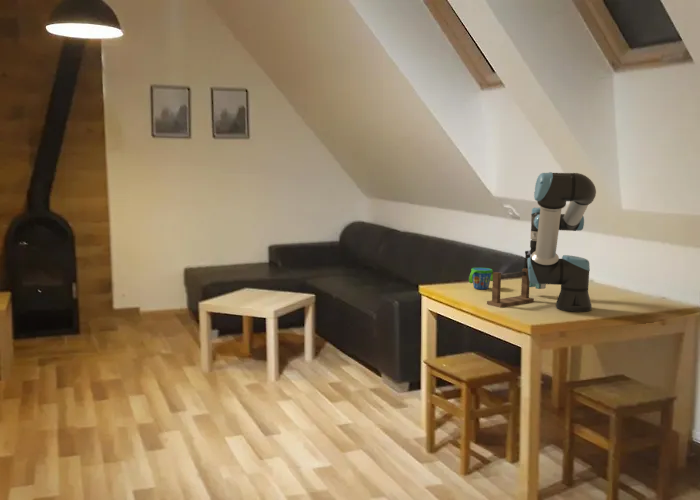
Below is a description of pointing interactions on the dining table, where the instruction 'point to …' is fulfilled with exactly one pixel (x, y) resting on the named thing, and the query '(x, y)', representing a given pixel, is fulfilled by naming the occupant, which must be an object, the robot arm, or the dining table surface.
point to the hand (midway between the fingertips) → (536, 287)
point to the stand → (512, 300)
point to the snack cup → (481, 277)
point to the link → (536, 285)
